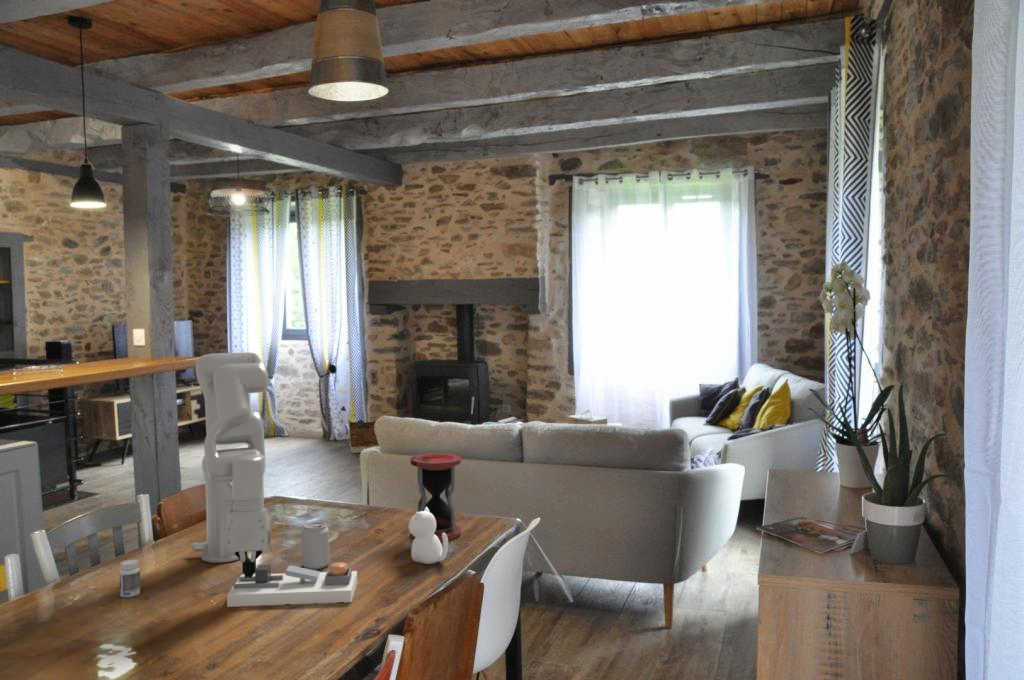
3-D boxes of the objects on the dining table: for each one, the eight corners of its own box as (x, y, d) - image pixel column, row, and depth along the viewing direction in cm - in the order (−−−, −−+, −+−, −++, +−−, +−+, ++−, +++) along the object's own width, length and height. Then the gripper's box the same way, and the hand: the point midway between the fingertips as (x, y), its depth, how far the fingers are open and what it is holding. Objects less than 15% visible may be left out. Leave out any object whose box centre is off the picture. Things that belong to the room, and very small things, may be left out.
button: (328, 577, 195) (328, 568, 195) (330, 571, 200) (330, 562, 200) (346, 577, 196) (346, 567, 196) (348, 571, 200) (348, 562, 200)
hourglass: (434, 524, 259) (433, 451, 258) (471, 532, 250) (471, 456, 249) (400, 536, 246) (399, 458, 245) (438, 545, 237) (438, 464, 236)
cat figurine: (417, 554, 229) (416, 504, 228) (455, 558, 224) (454, 507, 223) (402, 564, 220) (401, 512, 220) (442, 568, 216) (441, 515, 215)
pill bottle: (144, 592, 198) (143, 560, 198) (130, 598, 194) (129, 565, 193) (130, 589, 200) (129, 558, 199) (115, 596, 195) (114, 563, 195)
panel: (227, 606, 188) (226, 586, 188) (241, 586, 202) (241, 566, 202) (351, 602, 191) (351, 581, 191) (357, 582, 205) (356, 562, 205)
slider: (255, 585, 194) (255, 570, 194) (259, 580, 198) (258, 564, 198) (267, 585, 194) (267, 569, 194) (271, 579, 198) (270, 564, 198)
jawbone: (339, 532, 254) (339, 526, 254) (345, 552, 235) (345, 545, 234) (310, 532, 251) (311, 526, 251) (314, 552, 232) (315, 546, 232)
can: (322, 571, 214) (321, 528, 213) (297, 569, 215) (296, 527, 215) (333, 562, 221) (333, 521, 220) (309, 560, 222) (309, 520, 222)
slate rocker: (285, 575, 194) (286, 570, 194) (288, 569, 198) (289, 565, 198) (316, 581, 195) (317, 577, 195) (318, 576, 199) (319, 571, 199)
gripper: (213, 509, 190) (214, 582, 191) (275, 507, 192) (276, 580, 192) (222, 501, 198) (223, 571, 199) (281, 500, 199) (282, 569, 200)
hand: (249, 575), depth 196 cm, fingers closed
